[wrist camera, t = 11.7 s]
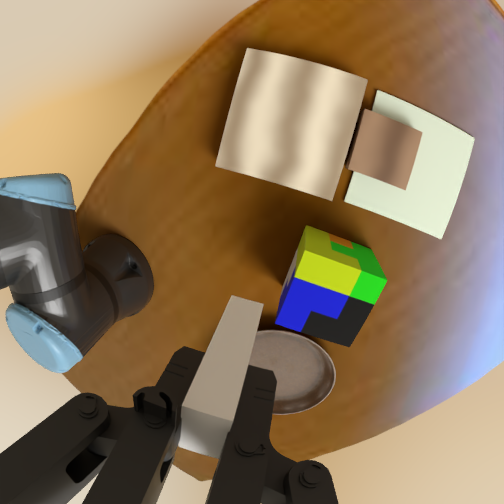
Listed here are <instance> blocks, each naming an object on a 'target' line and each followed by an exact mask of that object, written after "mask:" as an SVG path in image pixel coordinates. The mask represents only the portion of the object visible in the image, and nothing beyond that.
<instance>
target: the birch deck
mask: <svg viewBox="0 0 504 504" xmlns="http://www.w3.org/2000/svg"><path fill="white" fill-rule="evenodd" d="M367 81H368V80H367V79H364V78H362V77H359V76H356V75H353V74H350V73H347V72H344V71H341V70H338V69H335V68H332V67H328V66H325V65H321V64H318V63H314V62H311V61H307V60H303V59H299V58H295V57H291V56H286V55H282V54H277V53H272V52H267V51H262V50H257V49H251V48H247V50H246V53H245V57H244V60H243V63H242V67H241V70H240V74H239V77H238V81H237V84H236V88H235V91H234V95H233V99H232V102H231V106H230V110H229V113H228V117H227V121H226V125H225V129H224V133H223V137H222V141H221V145H220V149H219V153H218V157H217V161H216V165H215V166H216V167H220V168H223V169H227V170H231V171H235V172H238V173H242V174H246V175H249V176H253V177H256V178H260V179H263V180H267V181H270V182H273V183H277V184H280V185H283V186H287V187H290V188H293V189H296V190H300V191H303V192H306V193H309V194H312V195H315V196H318V197H321V198H324V199H327V200H330V201H332V199H333V196H334V193H335V190H336V187H337V184H338V181H339V178H340V175H341V172H342V168H343V165H344V162H345V159H346V155H347V152H348V149H349V146H350V142H351V139H352V135H353V132H354V129H355V125H356V122H357V118H358V115H359V111H360V107H361V104H362V100H363V96H364V92H365V89H366V85H367Z"/></svg>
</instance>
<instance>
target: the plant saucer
mask: <svg viewBox="0 0 504 504" xmlns="http://www.w3.org/2000/svg"><path fill="white" fill-rule="evenodd" d="M248 365H252V366H256V367H260V368H264V369H268V370H272V371H273V372H274V374H275V377H276V380H277V386H276V392H275V400H274V406H273V413H272V414H279V415H280V414H281V415H283V414H294V413H299V412H302V411H305V410H308V409H310V408H312V407H314V406H316V405H318V404H319V403H320V402H322V401H323V400H324V399H325V398H326V397H327V396H328V395H329V393H330V392H331V390H332V388H333V386H334V383H335V377H336V376H335V375H336V373H335V367H334V364H333V362H332V360H331V358H330V357H329V355H328V354H327V353H326V352H325V350H324V349H323V348H321V347H320V346H319V345H318V344H317V343H315V342H314V341H312V340H310V339H309V338H307V337H305V336H302V335H300V334H297V333H294V332H290V331H285V330H272V329H271V330H260V331H257V333H256V337H255V341H254V344H253V348H252V352H251V356H250V360H249V364H248Z"/></svg>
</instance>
